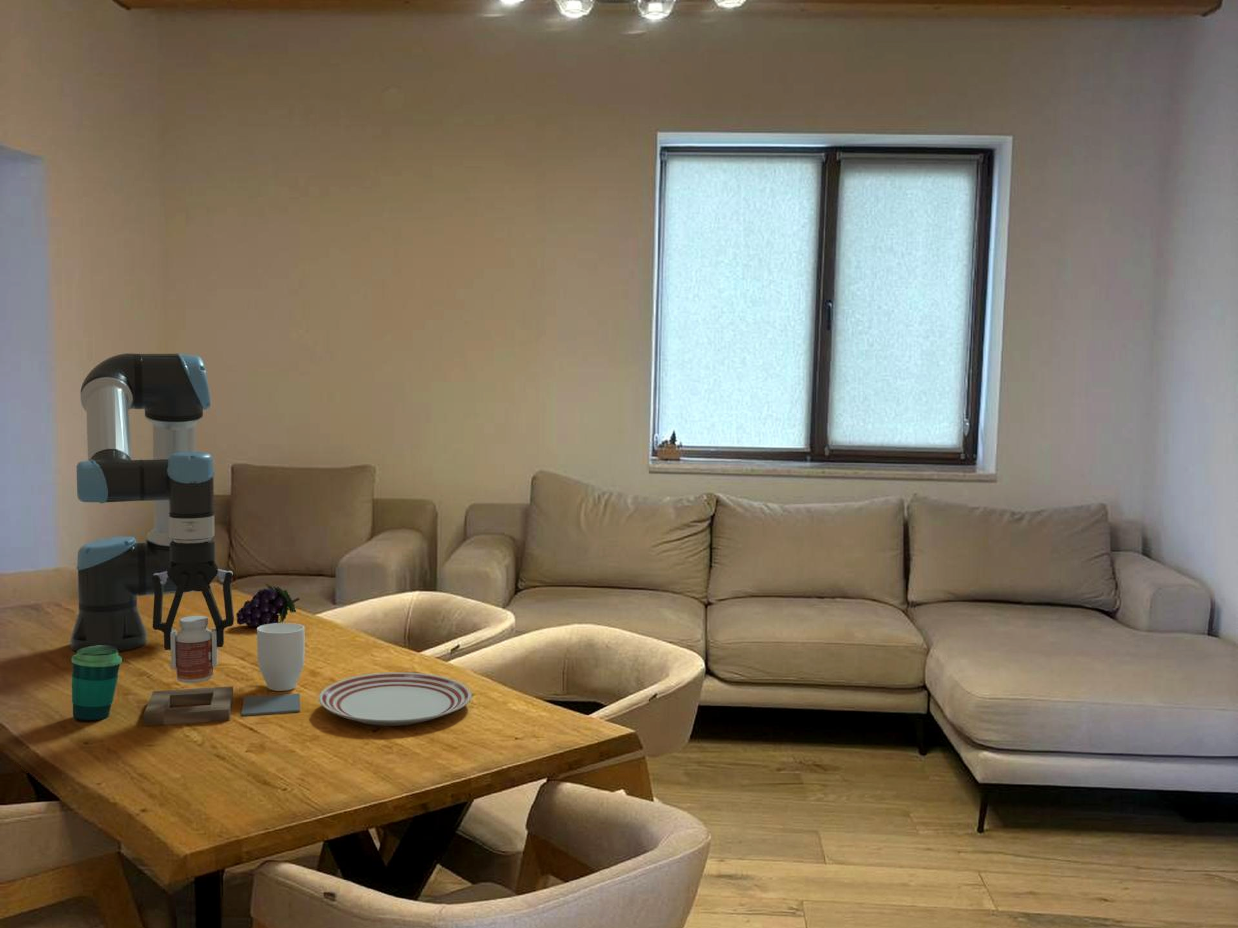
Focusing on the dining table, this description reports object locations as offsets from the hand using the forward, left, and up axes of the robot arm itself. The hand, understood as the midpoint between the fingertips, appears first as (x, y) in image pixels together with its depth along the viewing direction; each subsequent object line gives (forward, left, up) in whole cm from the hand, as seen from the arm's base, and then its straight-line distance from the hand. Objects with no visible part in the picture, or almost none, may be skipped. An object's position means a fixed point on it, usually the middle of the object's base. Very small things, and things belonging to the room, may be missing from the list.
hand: (194, 665), depth 199 cm
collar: (0, -1, -8) cm, 8 cm away
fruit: (-62, +11, -9) cm, 63 cm away
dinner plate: (+7, +35, -9) cm, 37 cm away
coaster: (0, +13, -8) cm, 16 cm away
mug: (-12, +14, -9) cm, 20 cm away
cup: (-1, -16, -9) cm, 18 cm away
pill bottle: (0, 0, -3) cm, 3 cm away
